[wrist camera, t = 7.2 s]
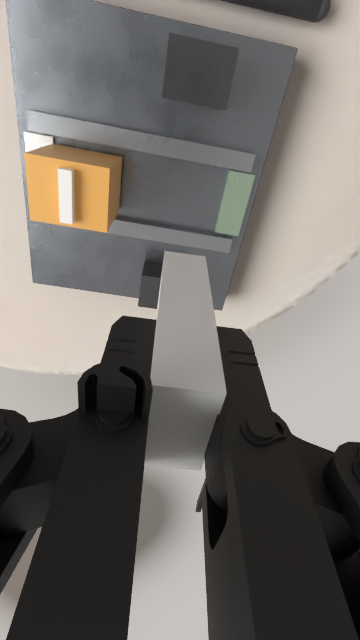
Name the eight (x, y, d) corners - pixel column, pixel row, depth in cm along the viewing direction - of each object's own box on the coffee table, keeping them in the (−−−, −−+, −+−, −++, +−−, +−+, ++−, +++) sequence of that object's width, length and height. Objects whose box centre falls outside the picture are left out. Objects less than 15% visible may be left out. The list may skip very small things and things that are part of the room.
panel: (21, -8, 21) (-24, -38, 16) (287, 53, 22) (313, 40, 18) (42, 270, 32) (19, 299, 27) (219, 297, 34) (225, 328, 29)
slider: (52, 143, 23) (19, 154, 18) (122, 156, 23) (108, 170, 19) (55, 200, 25) (26, 223, 21) (119, 211, 26) (105, 235, 21)
